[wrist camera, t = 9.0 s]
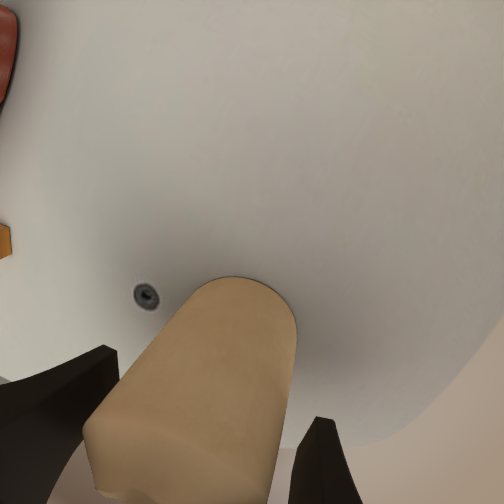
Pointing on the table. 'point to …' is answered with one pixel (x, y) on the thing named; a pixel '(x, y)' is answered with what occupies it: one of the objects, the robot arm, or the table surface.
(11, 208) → the table surface
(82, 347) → the table surface
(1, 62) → the flower pot
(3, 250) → the fry stick
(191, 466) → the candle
